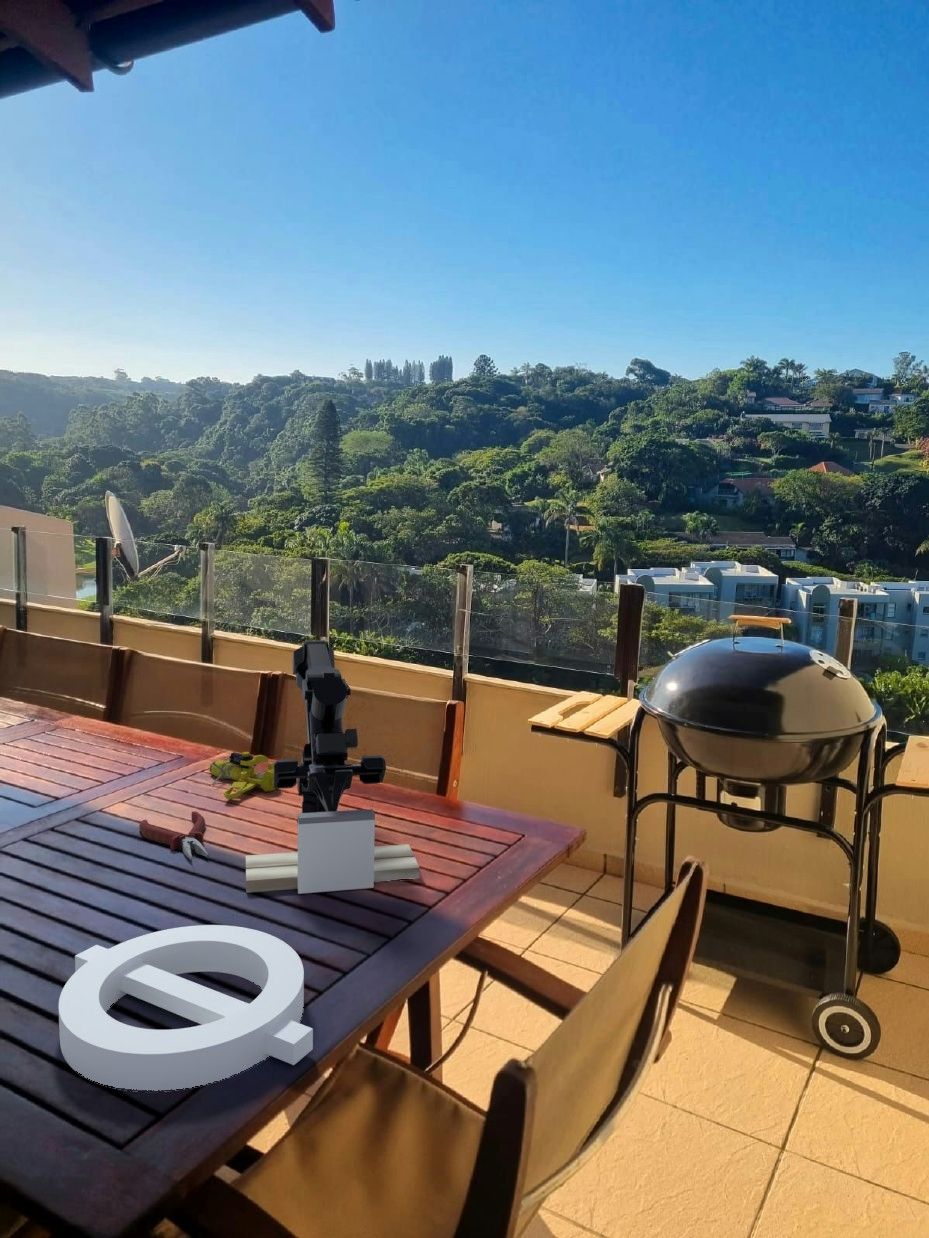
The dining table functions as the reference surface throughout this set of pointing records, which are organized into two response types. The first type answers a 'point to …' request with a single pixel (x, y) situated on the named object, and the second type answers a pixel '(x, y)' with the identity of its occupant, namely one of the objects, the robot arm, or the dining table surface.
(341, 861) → the white square slab
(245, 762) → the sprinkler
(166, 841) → the pliers
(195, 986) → the ring with crossbar
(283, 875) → the laid plank
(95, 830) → the dining table surface
